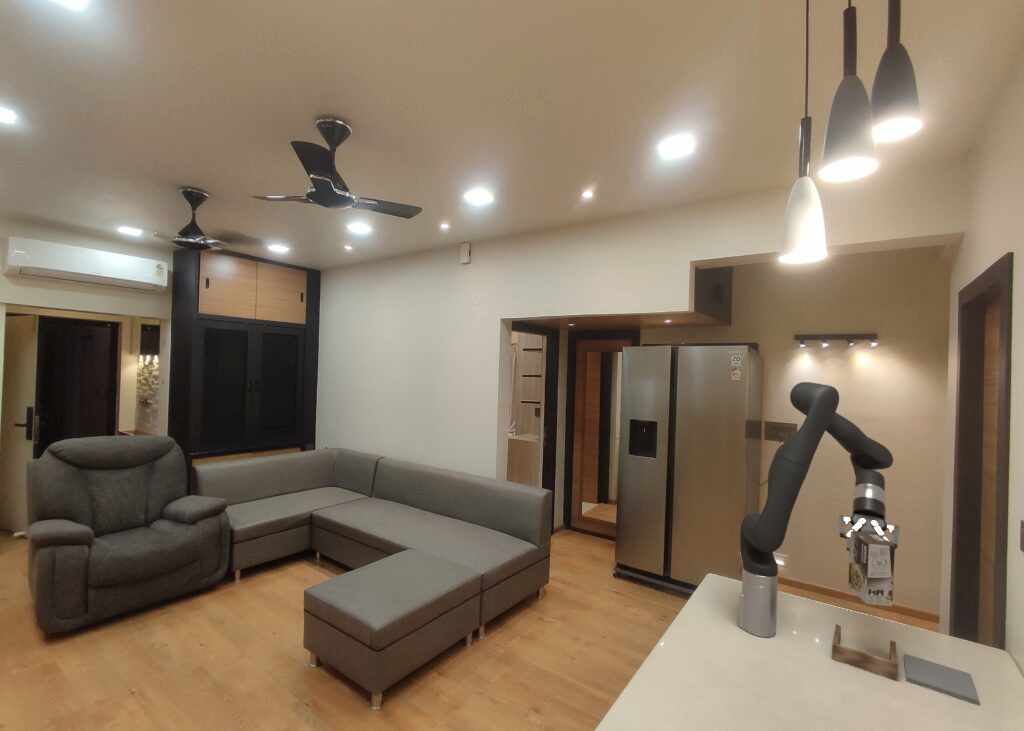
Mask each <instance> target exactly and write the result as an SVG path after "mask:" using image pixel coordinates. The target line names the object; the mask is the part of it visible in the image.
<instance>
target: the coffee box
mask: <svg viewBox="0 0 1024 731" xmlns="http://www.w3.org/2000/svg"><path fill="white" fill-rule="evenodd" d="M849 532H850V552H849V551H848V552H849V556H848V557H849V558H848V588H849V589H850V590H851V591H852V592H853V593H854V594H855V595H856V596H857V597H858V598H860V599H861V600H862V601H863V603H865V604H866V605H874V606H875V605H876V606H885V607H893V597H894V596H893V594H894V592H893V591H894V575H895V574H894V573H895V572H894V570H895V554H896V552H895V550H896V549H895V545H894V544H892V543H890V542H889V541H890V540H888V539H887V540H888V541H887V540H886V539H884V538H883V537H881V536H880V535H878V534H877V533H875V532H867V531H851V530H850V531H849Z"/></svg>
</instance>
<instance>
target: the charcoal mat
mask: <svg viewBox="0 0 1024 731" xmlns="http://www.w3.org/2000/svg"><path fill="white" fill-rule="evenodd" d="M903 661H904V663H903V664H904V671H905V681H906V682H909V683H912V684H914V685H917V686H920V687H924V688H926V689H929V688H930V689H929V690H932V691H935V692H939V693H941V694H943V695H948V696H950V697H953V698H956V699H958V700H962V701H965V702H968V703H971V704H974V705H977V706H980V699H979V696H978V692H977V690H976V687H975V683H974V681H973V678H972V675H971V673H969V672H966V671H963V670H960V669H958V668H957V669H956V668H954V667H953V668H952V667H950V666H946V665H943V664H940V663H937V662H934V661H931V660H927V659H923V658H920V657H917V656H914V655H911V654H907V653H903Z"/></svg>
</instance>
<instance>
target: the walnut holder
mask: <svg viewBox="0 0 1024 731" xmlns="http://www.w3.org/2000/svg"><path fill="white" fill-rule="evenodd" d="M834 626H835V627H834V634H833V639H832V644H831V646H832V648H831V649H832V650H831V660H833V661H836V662H839V663H842V664H844V663H845V664H846V665H847V664H849V665H848V666H850V665H851V667H853V666H854V668H856V667H858V668H857V669H859V668H861V669H860V670H862V669H864V670H863V671H865V670H866V671H865V672H868V671H869V672H868V673H872V674H874V673H875V674H874V675H877V674H878V675H877V676H880V675H881V676H880V677H883V676H884V678H887V679H889V680H893V681H895V682H898V655H897V654H898V652H897V642H896V641H893V640H889V659H886V658H883V657H881V656H879V655H878V656H877V655H874V654H871V653H867V652H865V651H862V650H858V649H856V648H853V647H849V646H846V645H843V644H841V640H842V639H841V636H842V635H841V632H842V631H841V630H842V629H841V628H842V625H840V624H836V623H835V625H834Z"/></svg>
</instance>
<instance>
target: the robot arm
mask: <svg viewBox="0 0 1024 731" xmlns="http://www.w3.org/2000/svg"><path fill="white" fill-rule="evenodd" d="M789 399H790V403H791V404H792V406H793V408H794V409H796V410H797V411H799V413H802V414H803V415H805V416H806V417H805V419H804V421H803V423H802V425H801V426H800V428H799V429H798V430H797V432H795V433H793V435H791V436H790V437H789V438H788V439H786V440H785V441H784V442H783V443H782V444H781V445H780V446H779V447H777V449H776V450H775V454H774V456H773V458H772V460H771V463H770V465H769V469H768V474H767V495H766V500H765V504H764V507H763V509H762V511H761V513H760V512H751V513H748V514H747V515H746V516H745V517H743V519H742V521H741V524H740V530H739V531H740V532H739V534H740V536H739V541H740V544H739V545H740V546H739V547H740V557H741V560H742V574H741V592H740V594H739V609H738V610H739V612H738V614H739V615H738V627H739V628H741V629H743V630H745V631H746V632H747V633H749V634H751V635H755V636H757V637H761V638H773V637H774V636H776V633H777V611H778V608H777V606H778V583H779V582H778V580H779V578H778V576H779V571H778V570H779V565H778V563H777V560H776V559H775V556H774V553H775V552H776V551H777V550H778V549H780V547H781V546H782V545H783V543H784V541H785V537H786V534H787V530H788V527H789V522H790V519H791V515H792V511H793V509H794V506H795V504H796V501H797V499H798V496H799V494H800V492H801V489H802V486H803V484H804V482H805V480H806V477H807V475H808V472H809V470H810V468H811V464H812V461H813V459H814V457H815V453H816V452H817V449H818V447H819V445H820V442H821V440H822V438H823V436H824V434H825V432H827V433H828V434H829V435H830V436H831V437H832V438H833V439H834V440H835V441H836V442H837V443H838V444H839V445H840V446H841V447H842V448H843V449H844V450H845V451H846V452H848V453H849V454H850V455H849V459H850V462H851V465H852V468H853V473H854V477H855V484H854V485H855V486H854V492H853V498H852V500H853V501H852V515H851V516H850V517H847V516H844V515H843V514H840V515H838V522H839V523H838V525H839V526H838V528H839V530H838V531H839V537H840V538H841V539H842V538H843V539H844V540H846V544H845V545H846V550H847V551H848V552H850V531H867V532H875V533H877V534H878V535H880V536H881V537H883V538H884V539H886V540H887V541H889V542H890V543H892V544H894V545H895V550H896V549H898V546H899V538H900V528H901V527H900V526H899V525H897V524H896V525H890V524H888V523H887V522H886V507H887V505H886V500H887V499H886V491H885V488H886V485H885V484H886V480H885V477H884V475H883V474H882V473H881V472H879V471H877V470H886V469H889V468H891V466H892V465H893V464H894V456H893V454H892V452H891V451H890V449H888V448H887V446H885V445H883V444H881V443H880V442H878V441H876V440H874V438H873V439H872V438H871V437H868V436H867V435H866V434H865V432H863V431H862V429H860V427H859V426H857V424H855V423H854V422H852V421H850V420H849V419H847V418H846V417H844V416H842V415H841V414H839V413H837V409H838V406H839V403H840V393H839V391H838V390H837V389H836V387H834V386H831V385H829V384H823V383H816V382H810V381H809V382H808V381H801V382H799V383H796V384H795V385H794V386H793V387H792V389H791V390H790V395H789ZM849 523H850V524H851V525H852V528H851V529H850V531H848V532H847V531H846V530H845V526H847V525H848V524H849ZM886 531H889V534H890V535H892V540H888V538H887V537H886V535H885V532H886ZM773 552H774V553H773Z"/></svg>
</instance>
